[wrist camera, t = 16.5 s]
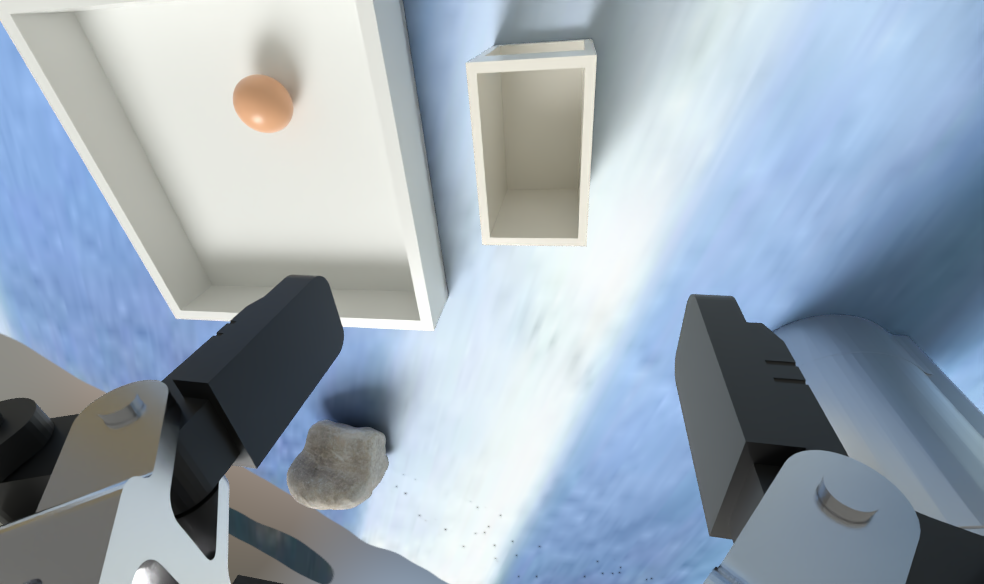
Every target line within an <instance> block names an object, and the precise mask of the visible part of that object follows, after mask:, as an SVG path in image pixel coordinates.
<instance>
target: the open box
mask: <svg viewBox="0 0 984 584" xmlns="http://www.w3.org/2000/svg"><path fill="white" fill-rule="evenodd" d="M596 61H597V54H596V50H595V47H594V44H593V40H592V39H581V40H566V41H551V42H536V43H521V44H506V45H493V46H492V47H490V48H489V49H487V50H485V51H484V52H482V53H481V54H479V55H477V56H476V57H474V58H473V59H471V60H469V61H468V62H466V72H467V83H468V94H469V104H470V115H471V126H472V137H473V148H474V158H475V169H476V180H477V191H478V202H479V212H480V223H481V234H482V245H530V246H586V244H587V226H588V208H589V189H590V171H591V153H592V135H593V116H594V98H595V80H596Z"/></svg>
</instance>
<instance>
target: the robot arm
mask: <svg viewBox="0 0 984 584" xmlns="http://www.w3.org/2000/svg"><path fill="white" fill-rule="evenodd" d="M230 321H231V322H230V324H228V323H227V324H226V325H225V326H224V327H222V328H221V329H220V330H219V331H218V332H217V335H216V336H212V337H211V338H210V339H209V340H208V341H207V342H206V343H204V344H203V345H202V346H201V347H200V348H199V349H198V350H196V351H195V352H194V353H193V354H192V355H191V356H190V357H189V358H187V359H186V360H185V361H184V362H183V363H182V364H181V365H179V366H178V367H177V368H176V369H175V370H174V371H173V372H172V373H170V374H169V375H168V376H167V377H166V378H165V379H164V380H163V381H157V380H143V381H137V382H133V383H130V384H127V385H124V386H121V387H119V388H116V389H114V390H112V391H110V392H108V393H106V394H104V395H103V396H101V397H99V398H98V399H96V400H95V401H94V402H92V403H91V404H90V405H88V406H87V407H86V408H85V409H84V410H83V411H82V412H81V413H80V414H76V415H70V416H63V417H56V418H49V417H48V416H47V415H46V414H45V413H44V412H43V411H42V410H41V408H40V407H39V406H38V405H37V404H36V403H35V402H34V401H33V400H31V399H28V398H15V399H10V400H5V401H1V402H0V522H1V523H2V524H3V525H1V526H0V584H231V583H230V579H229V574H228V523H229V483H228V480H227V478H226V477H225V475H224V474H225V473H226V472H227V471H228V469H229V468H230V467H231V465H235V466H242V467H249V468H255V469H257V468H258V466H259V465H260V464H261V462H262V461H263V459H264V458H265V457H266V455H267V454H268V452H269V451H270V450H271V448H272V447H273V445H274V444H275V443H276V441H277V440H278V439H279V437H280V436H281V434H282V433H283V432H284V430H285V429H286V427H287V426H288V425H289V423H290V422H291V420H292V419H293V418H294V416H295V415H296V413H297V412H298V411H299V409H300V408H301V406H302V405H303V404H304V402H305V401H306V399H307V398H308V397H309V395H310V394H311V392H312V391H313V390H314V388H315V387H316V385H317V384H318V383H319V381H320V380H321V379H322V377H323V376H324V374H325V373H326V372H327V370H328V369H329V367H330V366H331V365H332V363H333V362H334V360H335V359H336V358H337V356H338V355H339V353H340V351H341V349H342V345H343V340H344V331H343V327H342V323H341V320H340V317H339V314H338V311H337V307H336V304H335V301H334V298H333V295H332V291H331V288H330V285H329V283H328V281H327V280H326V278H324V277H323V276H314V275H288V276H287V277H285V278H284V279H283V280H282V281H281V282H280V283H279V284H277V285H276V286H275V287H274V288H273V289H272V290H271V291H270V292H269V293H267V294H266V295H265V296H264V297H262V298H260V299H259V300H257V301H255V302H253V303H251V304H250V305H248V306H246V307H245V308H244V309H243V310H242V311H241V312H239V313H238V314H237V315H236V316H235V317H234V318H233V319H232V320H230ZM675 380H676V386H677V390H678V395H679V399H680V404H681V409H682V413H683V418H684V422H685V427H686V431H687V436H688V440H689V445H690V450H691V454H692V459H693V463H694V468H695V472H696V477H697V481H698V486H699V491H700V495H701V500H702V504H703V509H704V513H705V518H706V522H707V527H708V532H709V536H712V537H719V538H726V539H733V543H734V544H733V546H732V547H731V549H730V551H729V552H728V554H727V555H726V557H725V559H724V560H723V562H722V563H721V564H720V566H719V567H718V568H717V567H715V568H714V569H713V571H712V572H711V573H710V574H709V576H708V577H707V579H706V580H705V582H704V583H703V584H984V414H983V413H982V412H981V411H980V410H979V409H978V408H977V407H976V406H975V405H974V404H973V403H972V402H971V401H970V400H969V399H968V398H967V397H966V396H965V395H964V394H963V393H962V391H961V390H960V389H959V388H958V387H957V386H956V385H955V384H954V383H953V382H952V381H951V380H950V379H949V378H948V377H947V376H946V375H945V374H944V373H943V372H942V371H941V370H940V369H939V368H938V367H937V365H936V364H935V363H934V362H933V361H932V360H931V359H930V358H929V357H928V356H927V355H926V354H925V353H924V352H923V351H922V350H921V349H920V348H919V347H918V346H917V345H916V344H915V343H914V342H913V341H912V339H911V338H910V337H909V336H906V335H894V334H890V333H889V332H887V331H886V330H885V329H883V328H882V327H881V326H879V325H878V324H876V323H874V322H872V321H870V320H867V319H865V318H861V317H856V316H851V315H838V314H830V315H820V316H813V317H809V318H805V319H801V320H797V321H795V322H792V323H790V324H787V325H785V326H782V327H780V328H779V329H777V330H775V331H773V332H772V331H771V330H770V329H768V328H767V327H766V326H765V325H764V324H762V323H749V322H746V320H745V318H744V316H743V314H742V312H741V310H740V308H739V306H738V304H737V302H736V300H735V298H734V297H733V296H720V295H698V294H691V295H690V297H689V299H688V301H687V305H686V310H685V314H684V319H683V323H682V328H681V333H680V337H679V342H678V347H677V351H676V358H675ZM233 584H281V583H277V582H272V581H267V580H262V579H257V578H252V577H247V576H241V575H238V576H237V578H236V579H235V581H234V582H233Z"/></svg>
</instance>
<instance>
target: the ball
mask: <svg viewBox="0 0 984 584" xmlns="http://www.w3.org/2000/svg"><path fill="white" fill-rule="evenodd" d="M233 105H234V109H235V111H236V113H237V115H238V116H239V118H240V119H241V120H242V121H243V122H244V123H245V124H246V125H247V126H249V127H250V128H252V129H254V130H256V131H259V132H263V133H274V132H278V131H280V130H282V129H284V128H285V127H286V126H287V125H288V124H289V123H290V121H291V119H292V116H293V102H292V99H291V96H290V94H289V92H288V91H287V90H286V88H285V87H284V86H283V85H282V84H281V83H280V82H278V81H277V80H275V79H274V78H272V77H269V76H266V75H260V74H255V75H250V76H247V77H245V78H243V79H242V80H240V81H239V82H238V84H237V85H236V87H235V89H234V92H233Z"/></svg>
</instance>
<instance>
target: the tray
mask: <svg viewBox="0 0 984 584" xmlns="http://www.w3.org/2000/svg"><path fill="white" fill-rule="evenodd" d="M0 21H1V23H2V24H3V26H4V28H5V29H6V31H7V33H8V34H9V36H10V38H11V39H12V41H13V43H14V45H15V46H16V48H17V50H18V51H19V53H20V55H21V56H22V58H23V60H24V62H25V63H26V65H27V67H28V68H29V70H30V72H31V73H32V75H33V77H34V78H35V80H36V82H37V84H38V85H39V87H40V89H41V90H42V92H43V94H44V95H45V97H46V99H47V100H48V102H49V104H50V106H51V107H52V109H53V111H54V112H55V114H56V116H57V117H58V119H59V121H60V123H61V124H62V126H63V128H64V129H65V131H66V133H67V134H68V136H69V138H70V139H71V141H72V143H73V145H74V146H75V148H76V150H77V151H78V153H79V155H80V156H81V158H82V160H83V162H84V163H85V165H86V167H87V168H88V170H89V172H90V173H91V175H92V177H93V178H94V180H95V182H96V184H97V185H98V187H99V189H100V190H101V192H102V194H103V195H104V197H105V199H106V201H107V202H108V204H109V206H110V207H111V209H112V211H113V212H114V214H115V216H116V217H117V219H118V221H119V223H120V224H121V226H122V228H123V229H124V231H125V233H126V234H127V236H128V238H129V239H130V241H131V243H132V245H133V246H134V248H135V250H136V251H137V253H138V255H139V256H140V258H141V260H142V262H143V263H144V265H145V267H146V268H147V270H148V272H149V273H150V275H151V277H152V278H153V280H154V282H155V284H156V285H157V287H158V289H159V290H160V292H161V294H162V295H163V297H164V299H165V301H166V302H167V304H168V306H169V307H170V309H171V311H172V312H173V314H174V316H175V317H176V319H192V320H214V321H230V320H232V319H233V318H234V317H235V316H236V315H237V314H238V313H239V312H241V311H242V310H243V309H244V308H245V307H246V306H248V305H250V304H251V303H253V302H255V301H257V300H259V299H260V298H262V297H264V296H265V295H266V294H267V293H269V292H270V291H271V290H272V289H273V288H274V287H275V286H276V285H277V284H279V283H280V282H281V281H282V280H283V279H284V278H285V277H287V276H288V275H314V276H323V277H324V278H326V280H327V281H328V283H329V285H330V288H331V291H332V295H333V298H334V301H335V304H336V307H337V311H338V314H339V317H340V320H341V323H342V327H364V328H385V329H406V330H428V331H434V330H435V327H436V325H437V323H438V320H439V318H440V316H441V313H442V311H443V309H444V306H445V304H446V302H447V299H448V290H447V284H446V277H445V271H444V264H443V258H442V251H441V245H440V238H439V232H438V225H437V219H436V212H435V206H434V199H433V193H432V186H431V180H430V174H429V167H428V161H427V154H426V148H425V141H424V135H423V128H422V122H421V115H420V109H419V102H418V96H417V89H416V83H415V76H414V70H413V63H412V57H411V50H410V44H409V37H408V31H407V24H406V18H405V11H404V5H403V0H0ZM255 74H260V75H266V76H269V77H272V78H274V79H275V80H277V81H278V82H280V83H281V84H282V85H283V86H284V87H285V88H286V90H287V91H288V92H289V94H290V96H291V99H292V102H293V116H292V119H291V121H290V123H289V124H288V125H287V126H286V127H285V128H284V129H282V130H280V131H278V132H274V133H263V132H259V131H256V130H254V129H252V128H250V127H249V126H247V125H246V124H245V123H244V122H243V121H242V120H241V119H240V118H239V116H238V115H237V113H236V111H235V109H234V105H233V92H234V89H235V87H236V85H237V84H238V82H239V81H240V80H242V79H243V78H245V77H247V76H250V75H255Z"/></svg>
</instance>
